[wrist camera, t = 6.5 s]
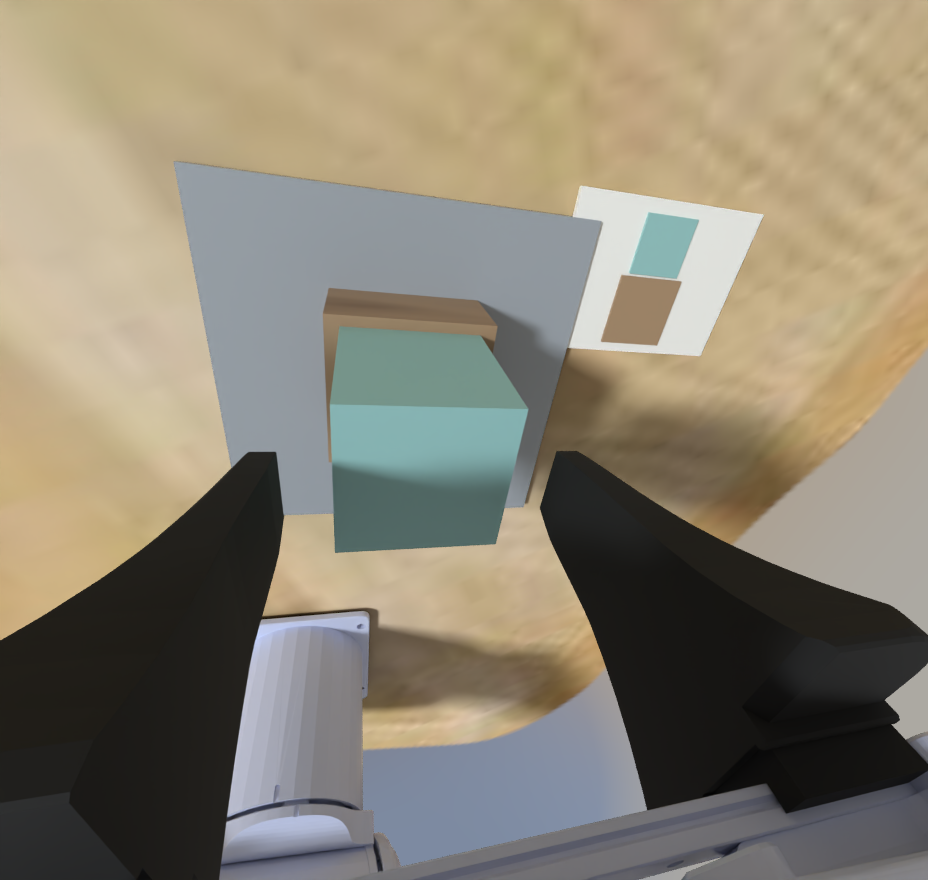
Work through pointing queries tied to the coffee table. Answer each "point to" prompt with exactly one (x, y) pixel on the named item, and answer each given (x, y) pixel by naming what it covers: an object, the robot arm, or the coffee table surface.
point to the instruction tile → (657, 271)
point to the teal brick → (420, 440)
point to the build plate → (366, 269)
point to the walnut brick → (397, 321)
